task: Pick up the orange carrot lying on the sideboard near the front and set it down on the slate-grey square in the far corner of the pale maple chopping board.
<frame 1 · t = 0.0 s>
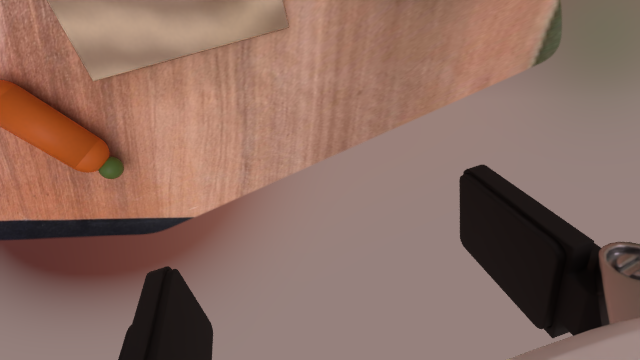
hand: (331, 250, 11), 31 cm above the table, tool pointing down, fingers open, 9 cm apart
carrot: (56, 122, 36), on the table
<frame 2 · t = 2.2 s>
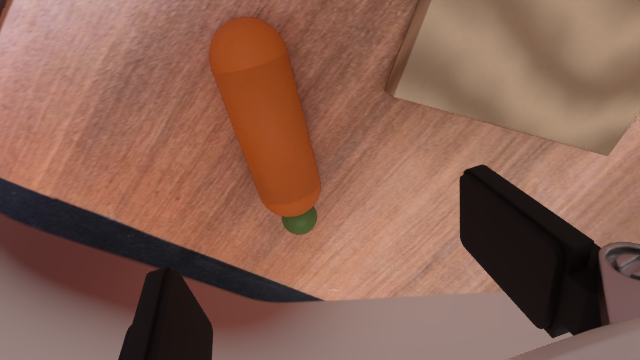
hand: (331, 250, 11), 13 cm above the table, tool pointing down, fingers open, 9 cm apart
carrot: (283, 114, 21), on the table, tilted 27°
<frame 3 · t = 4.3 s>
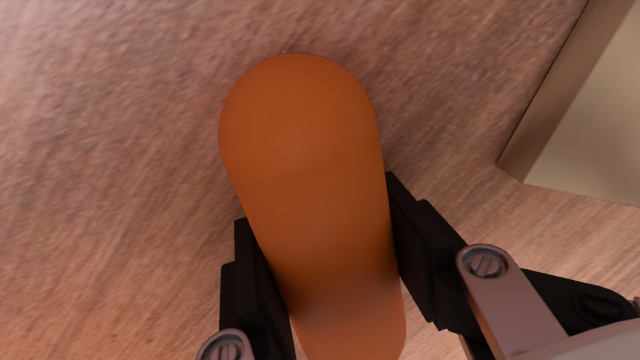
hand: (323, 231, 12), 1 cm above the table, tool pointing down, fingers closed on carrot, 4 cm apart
carrot: (333, 209, 13), on the table, tilted 17°, touching gripper
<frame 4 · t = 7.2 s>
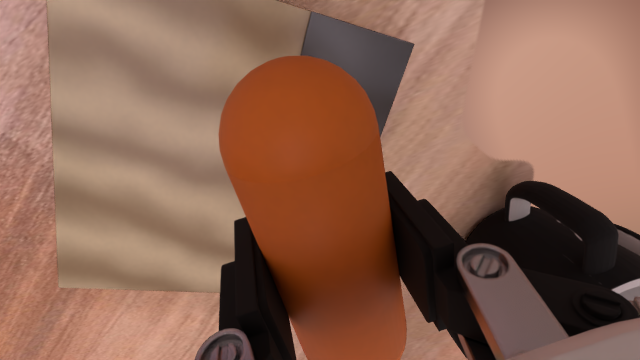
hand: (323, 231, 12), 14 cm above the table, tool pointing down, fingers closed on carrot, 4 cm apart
carrot: (334, 210, 13), point 13 cm above the table, tilted 19°, touching gripper
mug: (498, 239, 36), on the table
chopping board: (227, 162, 25), on the table
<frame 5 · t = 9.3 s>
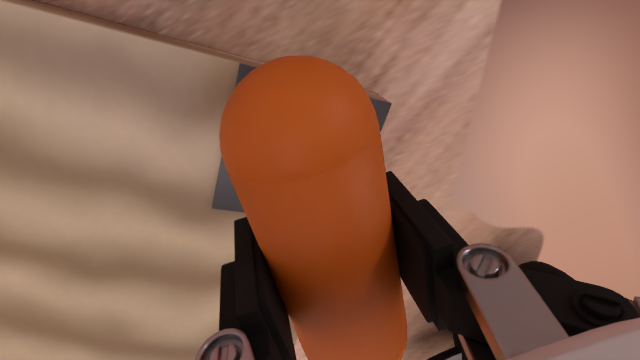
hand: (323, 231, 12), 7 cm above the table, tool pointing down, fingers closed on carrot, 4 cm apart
carrot: (334, 211, 13), point 6 cm above the table, tilted 18°, touching gripper
mug: (496, 309, 30), on the table
chopping board: (144, 245, 19), on the table
when the fingers open (3 cm above the table, at t = 10.6 s): carrot stays where it is, resting on chopping board.
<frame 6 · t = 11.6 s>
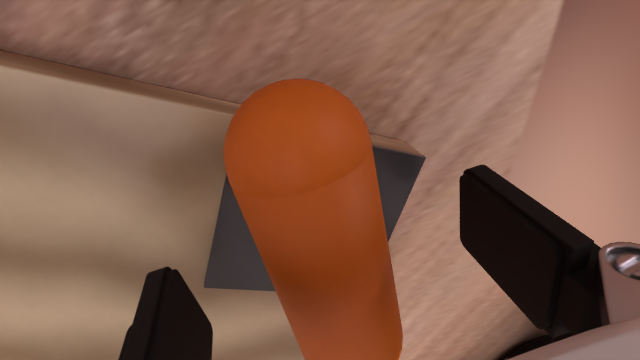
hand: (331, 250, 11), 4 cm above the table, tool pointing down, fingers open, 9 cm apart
carrot: (326, 222, 13), point 2 cm above the table, tilted 12°, touching chopping board
chopping board: (122, 324, 15), on the table
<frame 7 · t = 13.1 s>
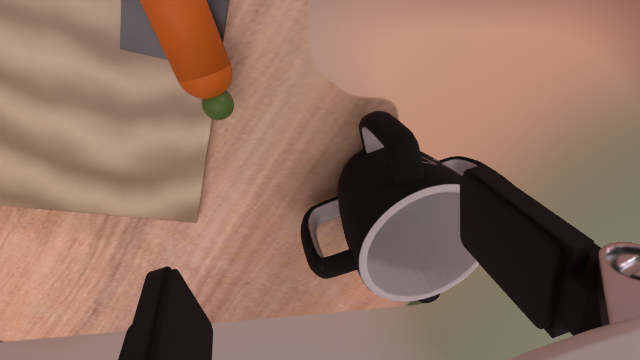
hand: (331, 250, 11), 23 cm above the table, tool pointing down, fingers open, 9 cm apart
carrot: (183, 10, 25), point 2 cm above the table, touching chopping board
mug: (376, 177, 38), on the table
chopping board: (82, 87, 27), on the table
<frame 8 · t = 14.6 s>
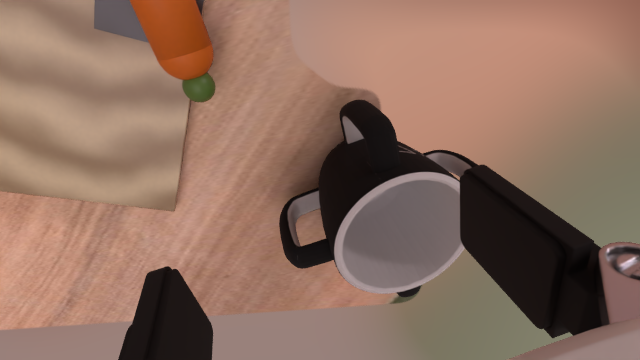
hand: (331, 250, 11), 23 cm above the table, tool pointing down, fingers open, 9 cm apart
mug: (359, 170, 38), on the table
chopping board: (56, 68, 27), on the table
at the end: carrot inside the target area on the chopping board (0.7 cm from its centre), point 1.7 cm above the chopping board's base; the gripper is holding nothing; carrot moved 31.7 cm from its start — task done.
